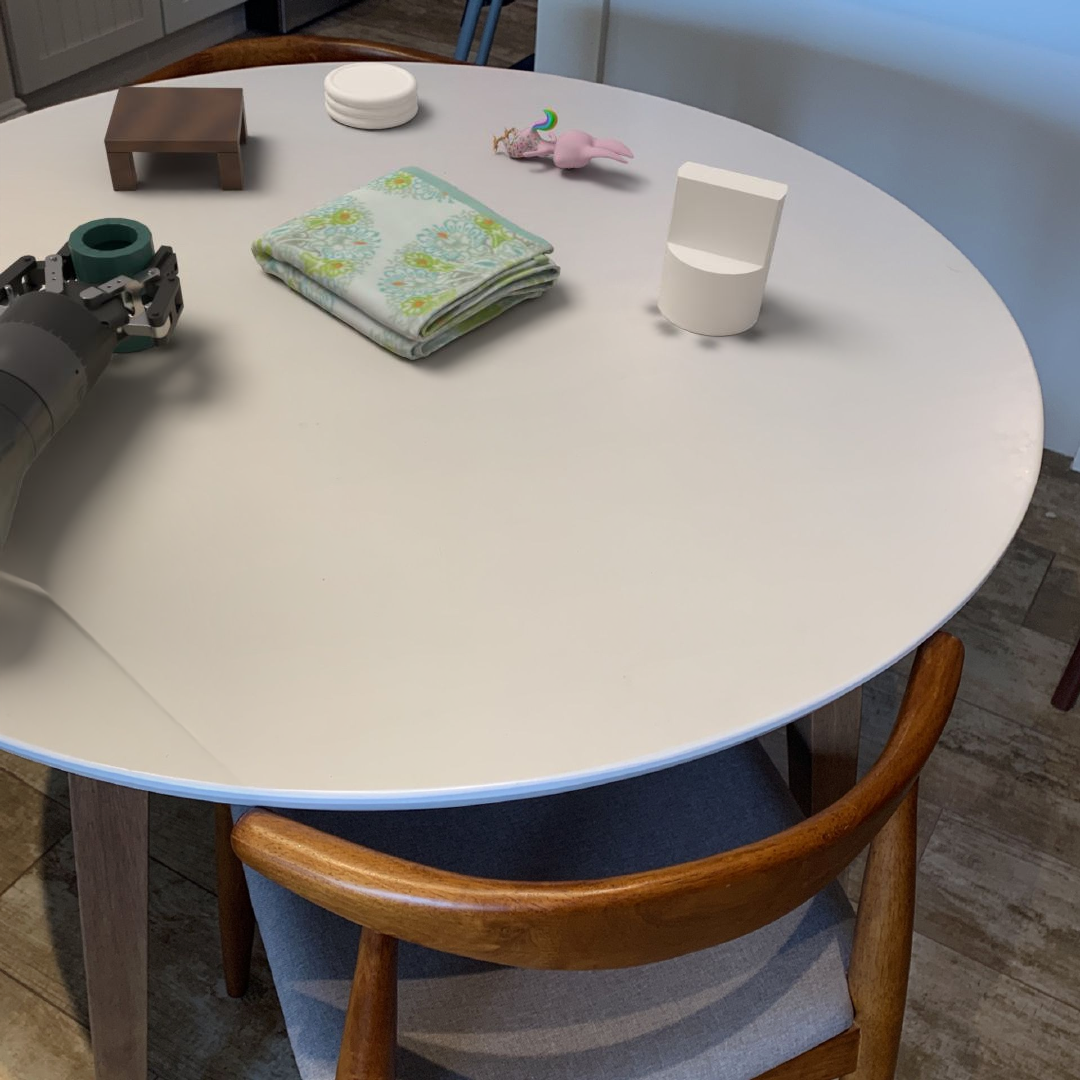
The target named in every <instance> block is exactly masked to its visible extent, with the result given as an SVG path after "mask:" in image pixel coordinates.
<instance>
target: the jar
mask: <svg viewBox="0 0 1080 1080" xmlns="http://www.w3.org/2000/svg"><path fill="white" fill-rule="evenodd" d="M153 239H154V238H153V233H152V231H151V230H150V228H149V227H148V226H147V225H146V224H144V223H142V222H140V221H138V220H136V219H130V218H125V217H104V218H98V219H93V220H90V221H87V222H85V223H82V224H80V225H78V226H77V227H76V228H74V229H73V230H72V231H71V232H70V234H69V237H68V240H67V241H68V244H69V249H70V253H71V257H72V262H73V266H74V271H75V275H76V281H81V282H84V283H87V284H104V283H106V282H108V281H110V280H112V279H114V278H116V277H118V276H120V275H122V274H125V275H127V276H129V277H131V276H133V275H135V274H137V273H139V272H141V271H143V270H145V266H146V265H147V264H148V262H149V261H150V260H151V258H152V257H153V256H154V254H155V253H156V250H155V244H154V240H153ZM146 293H147V291H146V286H145V287H143V288H141V290H140V296H142V295H144V294H146ZM119 296H120V298H121V300H122V302H123V304H124V301H123V297H122V293H120V294H119ZM151 347H155V346H154V345H153V344H152V341H151V336H138V335H131V336H130V337H129V338H128V339H127V340H126V341H124V342H122V343H120V344H118V345H117V346H116V347H115V348H114V350H113V353H133V352H134V353H135V352H139V351H143V350H146V349H149V348H151Z"/></svg>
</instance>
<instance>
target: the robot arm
mask: <svg viewBox="0 0 1080 1080" xmlns="http://www.w3.org/2000/svg"><path fill="white" fill-rule="evenodd" d="M178 275H179V264H178V258H177V253H176V252H174V249H173V247H172V245H163V244H162V245H160V246H159V248H158V249H157V250H156V251H155V254H154V256H153V257H152V258H151V260H150V261H149V262H148V264H147V265H146V266H145V270H143V271H141V272H139V273H137V274H135V275H133V276H131V277H129V276H127V275H125V274H122V275H120V276H118V277H116V278H114V279H112V280H110V281H108V282H106V283H104V284H87V283H84V282H81V281H77V279H76V275H75V271H74V266H73V262H72V257H71V253H70V249H69V244H68V240H67V241H66V242H65V243H64V244H63V245H62V247H60V249H59V250H58V251H57V252H56V253H54V254H49V255H47V256H45V258H44V260H37V259H36V256H35V255H31V254H27V255H26V254H25V255H22V256H20V257H19V258H18V259H16V260H15V261H14V262H13V263H12V264H11V265H10V266H8V267H7V268H5V270H3V271H2V272H1V273H0V553H1V552H2V550H3V548H4V546H5V543H6V541H7V538H8V536H9V532H10V528H11V524H12V521H13V517H14V514H15V510H16V506H17V503H18V500H19V496H20V492H21V489H22V483H23V480H24V476H25V474H27V472H28V470H29V469H30V468H31V467H32V465H33V464H34V462H35V461H36V460H37V458H38V457H39V456H40V454H41V453H42V451H43V450H44V449H45V447H47V444H48V443H49V442H50V440H51V439H52V438H53V437H55V436H56V435H57V434H58V433H59V432H60V430H62V429H63V428H64V426H65V425H66V424H67V423H68V422H69V421H70V419H71V418H72V416H73V415H74V414H75V412H76V411H77V410H78V408H79V407H80V405H81V404H82V403H83V401H84V400H85V399H86V397H87V396H88V395H89V393H90V392H91V390H92V389H93V387H94V386H95V384H96V383H97V382H98V380H99V379H100V378H101V376H102V375H103V374H104V372H105V371H106V369H107V367H108V365H109V363H110V361H111V358H112V356H113V353H114V352H113V350H114V348H115V347H116V346H117V345H118V344H120V343H122V342H124V341H126V340H127V339H128V338H129V337H130V336H131V335H138V336H151V341H152V344H153V345H154V346H153V347H157V348H158V347H165V346H167V345H168V344H169V343H170V340H171V338H172V336H173V334H174V331H175V329H176V326H177V324H178V322H179V319H180V318H181V315H182V314H183V313H182V312H183V310H184V308H185V304H184V297H183V291H182V285H181V279H180V277H179V276H178ZM43 286H44V287H45V288H43ZM145 286H146V291H147V293H146V294H144V295H142V296H140V290H141V288H143V287H145ZM42 288H43V289H42ZM120 293H122V297H123V301H124V304H123V302H122V300H121V298H120V296H119V294H120Z"/></svg>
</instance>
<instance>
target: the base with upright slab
mask: <svg viewBox="0 0 1080 1080" xmlns="http://www.w3.org/2000/svg"><path fill="white" fill-rule="evenodd" d="M675 180H676V181H675V185H674V192H673V200H672V206H671V214H670V217H669V218H670V219H669V224H668V230H667V238H666V245H665V250H664V255H663V256H664V257H663V263H662V270H661V277H660V282H659V289H658V295H657V307H658V310H659V311H660V313H661V314H662V316H663V317H664V318H665V319H666V320H667V321H669V322H670V323H671V324H673V325H675V326H676V327H678V328H679V329H682V330H684V331H688V332H690V333H694V334H698V335H705V336H713V337H715V336H716V337H724V336H733V335H737V334H739V333H744V332H746V331H748V330H749V329H751V328H753V327H754V326H755V324H756V323H757V322H758V321H759V316H760V312H761V307H762V303H763V299H764V293H765V290H766V286H767V281H768V276H769V272H770V268H771V264H772V263H771V262H772V258H773V254H774V250H775V245H776V241H777V236H778V232H779V228H780V223H781V219H782V214H783V210H784V205H785V201H786V197H787V193H788V188H789V187H788V184H786V183H782V182H778V181H774V180H770V179H766V178H762V177H761V178H760V177H757V176H752V175H748V174H744V173H739V172H735V171H731V170H726V169H723V168H719V167H714V166H710V165H705V164H701V163H698V162H693V161H689V160H687V161H685V162H684V163H683V164H682V165H681V166H680V167H679V168H678V171H677V173H676V179H675ZM757 318H758V319H757ZM756 320H757V321H756ZM755 321H756V322H755ZM754 322H755V323H754ZM751 325H752V326H751ZM750 326H751V327H750Z"/></svg>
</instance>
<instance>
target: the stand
mask: <svg viewBox="0 0 1080 1080" xmlns="http://www.w3.org/2000/svg"><path fill="white" fill-rule="evenodd" d="M117 89H118V90H117V93H116V97H115V99H114V104H113V108H112V110H111V115H110V118H109V121H108V125H107V128H106V132H105V135H104V139H103V143H104V148H105V153H106V158H107V162H108V169H109V174H110V180H111V185H112V190H113V191H136V187H137V185H138V176H137V171H136V164H135V159H134V153H216V157H217V158H216V159H217V164H218V173H219V180H220V187H221V190H222V191H243V190H244V182H245V181H244V171H243V170H244V169H243V161H242V154H241V153H242V152H241V144H247V143H248V135H249V134H248V126H247V125H248V124H247V116H246V107H245V97H244V88H243V87H197V86H196V87H195V86H194V87H193V86H192V87H189V86H188V87H185V86H177V87H176V86H174V87H173V86H119V87H118V88H117Z"/></svg>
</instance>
